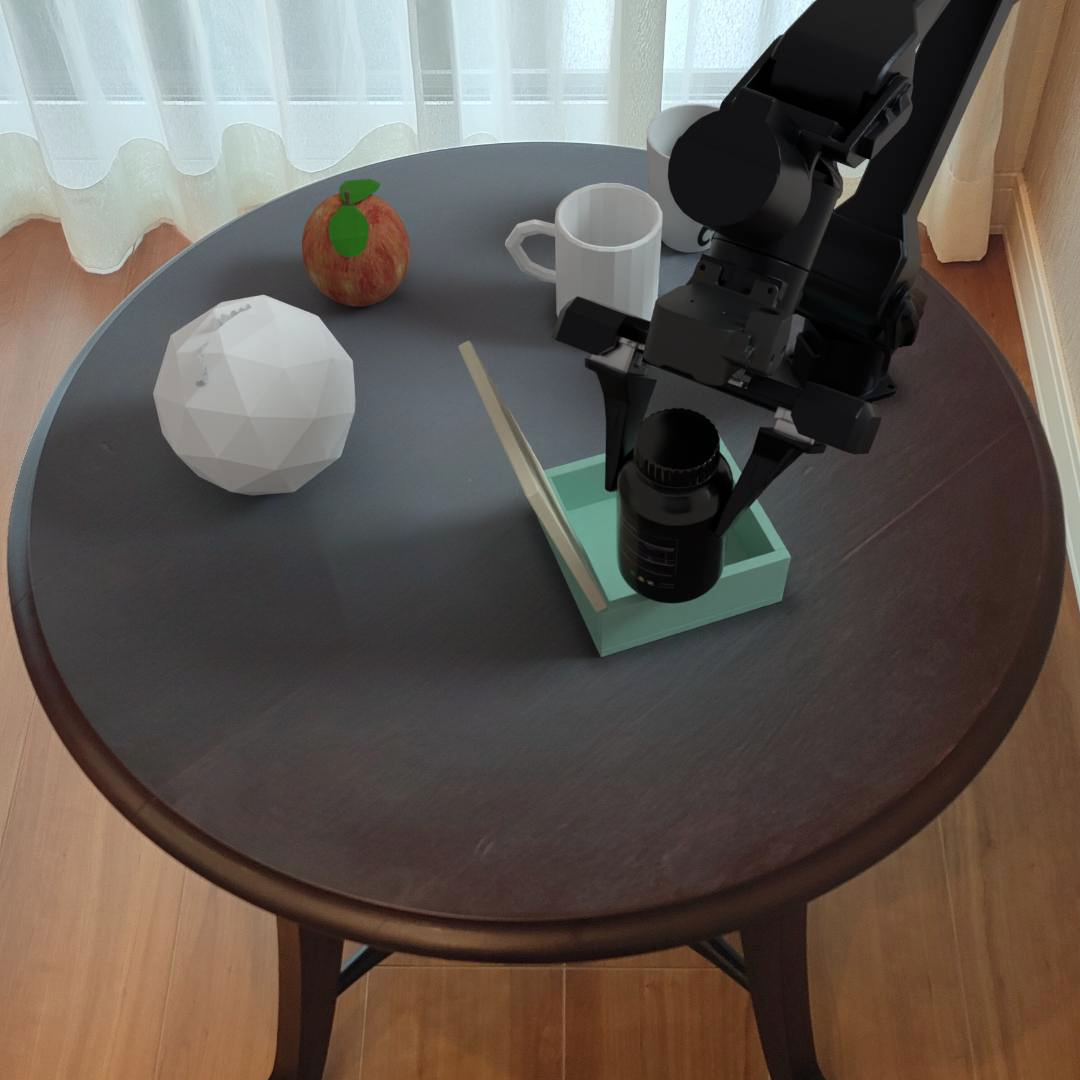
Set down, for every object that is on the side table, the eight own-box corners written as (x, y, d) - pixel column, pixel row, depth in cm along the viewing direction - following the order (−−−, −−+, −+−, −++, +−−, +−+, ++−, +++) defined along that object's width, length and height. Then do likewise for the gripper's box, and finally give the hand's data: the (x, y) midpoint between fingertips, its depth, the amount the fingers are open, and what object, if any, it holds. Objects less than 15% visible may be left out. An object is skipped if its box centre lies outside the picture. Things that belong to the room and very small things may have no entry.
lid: (469, 339, 78) (457, 345, 78) (539, 491, 71) (526, 497, 71) (540, 464, 90) (530, 470, 90) (607, 607, 82) (596, 613, 82)
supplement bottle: (652, 504, 86) (660, 375, 76) (743, 551, 83) (763, 424, 74) (593, 575, 83) (594, 450, 73) (686, 626, 80) (700, 503, 70)
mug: (513, 276, 110) (508, 178, 102) (657, 281, 109) (663, 182, 101) (504, 343, 105) (498, 246, 97) (655, 349, 104) (661, 251, 96)
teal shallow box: (706, 469, 96) (711, 422, 92) (781, 601, 89) (791, 556, 85) (537, 517, 94) (535, 471, 90) (600, 657, 86) (602, 614, 83)
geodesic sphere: (305, 539, 85) (321, 318, 82) (101, 504, 88) (107, 287, 84) (376, 491, 100) (392, 301, 96) (199, 462, 102) (208, 275, 98)
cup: (709, 276, 109) (719, 176, 101) (624, 244, 112) (627, 144, 104) (752, 222, 113) (766, 122, 106) (669, 192, 116) (676, 92, 108)
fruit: (295, 321, 107) (272, 221, 99) (332, 246, 113) (313, 146, 105) (397, 335, 106) (382, 236, 98) (429, 258, 111) (417, 159, 104)
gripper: (564, 180, 69) (469, 457, 73) (901, 295, 63) (781, 591, 67) (630, 214, 80) (544, 455, 83) (926, 315, 74) (821, 571, 77)
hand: (663, 513), depth 77 cm, fingers closed on supplement bottle, 7 cm apart
